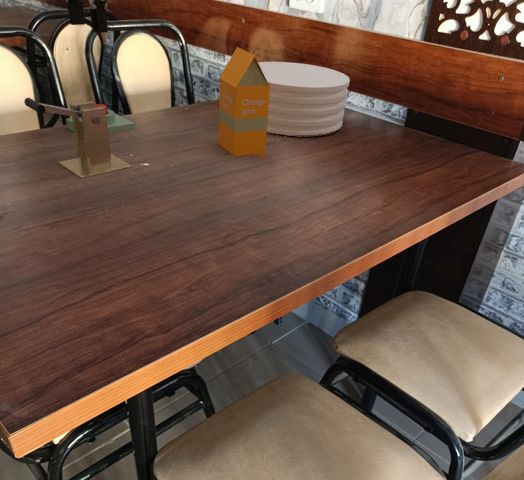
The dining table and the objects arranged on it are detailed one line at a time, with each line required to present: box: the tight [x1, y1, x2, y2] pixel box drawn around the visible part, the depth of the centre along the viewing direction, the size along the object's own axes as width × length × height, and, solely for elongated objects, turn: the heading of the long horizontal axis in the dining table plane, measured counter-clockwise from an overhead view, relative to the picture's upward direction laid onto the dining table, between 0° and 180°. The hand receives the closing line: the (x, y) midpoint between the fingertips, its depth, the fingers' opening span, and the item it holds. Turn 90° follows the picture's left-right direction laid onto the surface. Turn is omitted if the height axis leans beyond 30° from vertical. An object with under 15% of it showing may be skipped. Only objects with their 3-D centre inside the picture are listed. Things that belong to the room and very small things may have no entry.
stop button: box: [94, 103, 108, 115], centre depth 115 cm, size 4×4×2 cm
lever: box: [24, 97, 88, 122], centre depth 90 cm, size 12×5×2 cm, turn 133°
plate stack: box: [257, 61, 351, 135], centre depth 132 cm, size 28×28×12 cm
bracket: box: [57, 100, 133, 179], centre depth 96 cm, size 11×9×12 cm
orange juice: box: [218, 46, 270, 157], centre depth 108 cm, size 8×9×20 cm
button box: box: [65, 108, 136, 134], centre depth 117 cm, size 12×10×4 cm
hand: (88, 28), depth 105 cm, fingers open, 9 cm apart
